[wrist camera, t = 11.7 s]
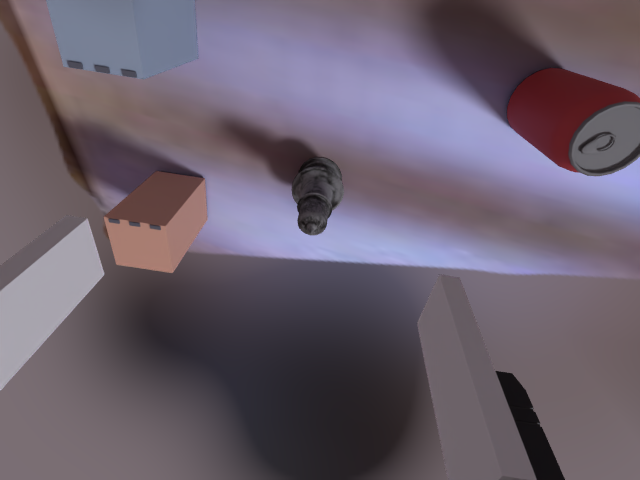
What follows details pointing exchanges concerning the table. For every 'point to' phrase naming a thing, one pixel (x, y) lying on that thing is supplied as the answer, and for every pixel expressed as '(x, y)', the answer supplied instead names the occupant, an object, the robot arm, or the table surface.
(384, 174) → the table surface
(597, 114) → the beer can
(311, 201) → the dark rounded upright piece
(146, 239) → the stub
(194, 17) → the gray rectangular box
